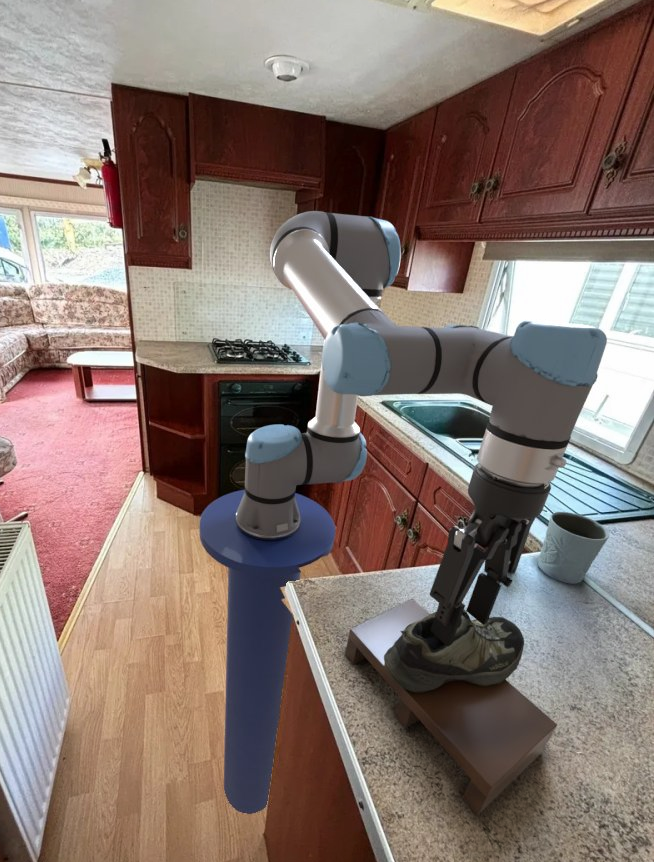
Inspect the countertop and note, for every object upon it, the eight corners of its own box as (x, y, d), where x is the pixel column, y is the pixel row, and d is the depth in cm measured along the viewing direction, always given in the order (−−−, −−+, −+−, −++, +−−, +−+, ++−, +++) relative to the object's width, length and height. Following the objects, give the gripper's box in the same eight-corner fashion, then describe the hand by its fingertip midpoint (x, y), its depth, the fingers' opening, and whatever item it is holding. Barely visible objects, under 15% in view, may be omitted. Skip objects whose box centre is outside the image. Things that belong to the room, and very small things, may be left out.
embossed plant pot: (596, 579, 86) (619, 533, 82) (568, 592, 82) (591, 544, 77) (550, 551, 95) (569, 507, 90) (522, 561, 90) (540, 516, 85)
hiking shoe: (537, 673, 57) (560, 625, 53) (408, 714, 51) (424, 663, 47) (492, 626, 64) (509, 581, 61) (374, 657, 58) (385, 609, 54)
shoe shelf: (344, 655, 65) (349, 628, 63) (405, 623, 72) (412, 598, 69) (476, 816, 47) (491, 787, 44) (541, 753, 53) (557, 724, 51)
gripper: (490, 509, 36) (432, 683, 45) (594, 470, 46) (528, 620, 55) (424, 473, 42) (385, 634, 51) (528, 445, 51) (479, 584, 61)
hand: (459, 626), depth 53 cm, fingers closed on hiking shoe, 7 cm apart
